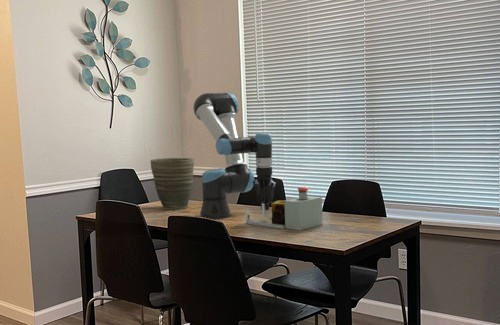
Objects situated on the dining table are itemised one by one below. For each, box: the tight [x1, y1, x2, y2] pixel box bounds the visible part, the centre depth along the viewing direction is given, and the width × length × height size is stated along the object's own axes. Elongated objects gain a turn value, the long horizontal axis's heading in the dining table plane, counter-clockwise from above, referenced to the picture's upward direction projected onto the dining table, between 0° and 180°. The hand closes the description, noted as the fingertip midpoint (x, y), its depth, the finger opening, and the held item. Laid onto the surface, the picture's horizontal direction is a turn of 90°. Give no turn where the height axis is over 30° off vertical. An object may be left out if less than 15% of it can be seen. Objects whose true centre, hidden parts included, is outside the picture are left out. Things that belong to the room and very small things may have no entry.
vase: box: [150, 157, 195, 211], centre depth 314 cm, size 25×24×30 cm
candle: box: [270, 200, 285, 225], centre depth 255 cm, size 10×10×10 cm
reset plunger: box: [297, 186, 309, 200], centre depth 247 cm, size 4×4×8 cm
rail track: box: [245, 214, 286, 230], centre depth 258 cm, size 22×19×4 cm
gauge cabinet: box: [283, 195, 323, 231], centre depth 248 cm, size 9×16×12 cm, turn 136°
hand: (265, 216), depth 264 cm, fingers closed
